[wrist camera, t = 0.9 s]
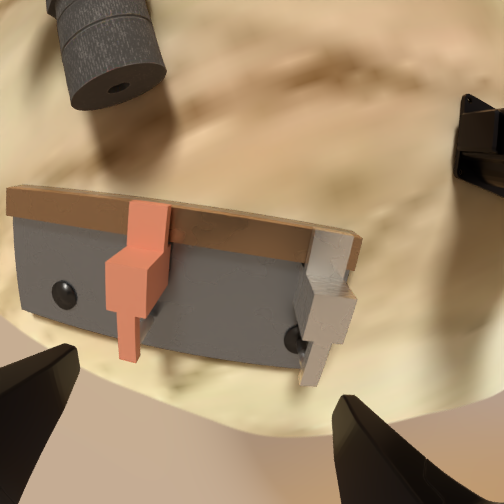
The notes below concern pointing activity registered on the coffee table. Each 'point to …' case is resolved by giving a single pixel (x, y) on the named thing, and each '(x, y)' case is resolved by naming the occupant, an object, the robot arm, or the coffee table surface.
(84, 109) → the laser sight
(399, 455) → the robot arm
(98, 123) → the coffee table surface
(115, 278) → the block
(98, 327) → the plate
